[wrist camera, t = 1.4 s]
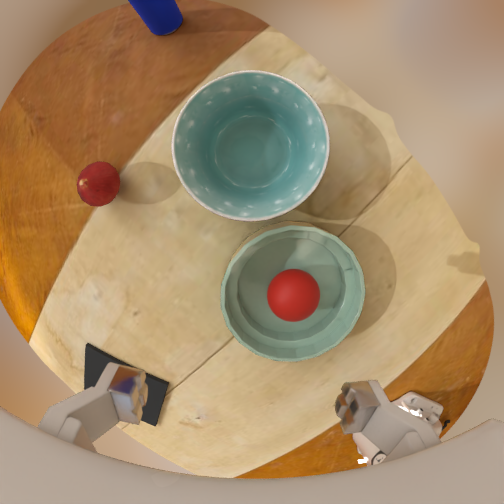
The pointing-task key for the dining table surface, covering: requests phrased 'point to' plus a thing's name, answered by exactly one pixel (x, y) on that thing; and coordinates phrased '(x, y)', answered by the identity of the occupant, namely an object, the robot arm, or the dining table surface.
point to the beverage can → (159, 15)
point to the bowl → (250, 145)
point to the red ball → (293, 295)
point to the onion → (98, 184)
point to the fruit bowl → (283, 258)
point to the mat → (100, 359)
